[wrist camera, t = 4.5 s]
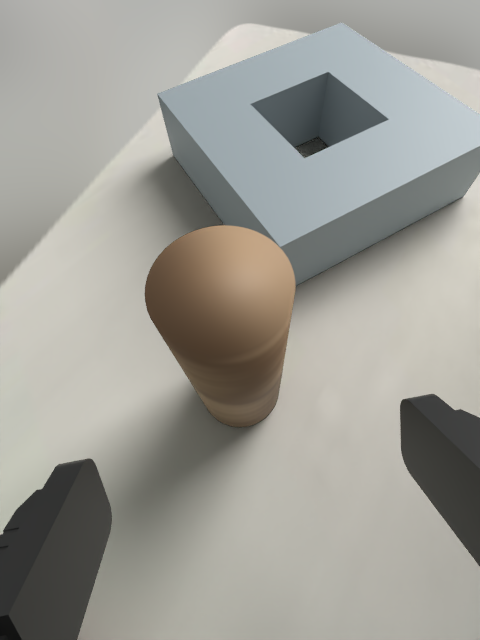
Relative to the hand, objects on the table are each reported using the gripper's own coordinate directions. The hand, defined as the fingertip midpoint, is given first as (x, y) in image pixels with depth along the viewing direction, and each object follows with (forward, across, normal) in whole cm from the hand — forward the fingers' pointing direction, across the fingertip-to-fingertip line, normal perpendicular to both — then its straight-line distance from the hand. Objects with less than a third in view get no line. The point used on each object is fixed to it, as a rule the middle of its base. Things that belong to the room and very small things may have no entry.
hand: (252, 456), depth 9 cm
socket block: (+21, -8, -7) cm, 24 cm away
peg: (+10, 0, +4) cm, 11 cm away
